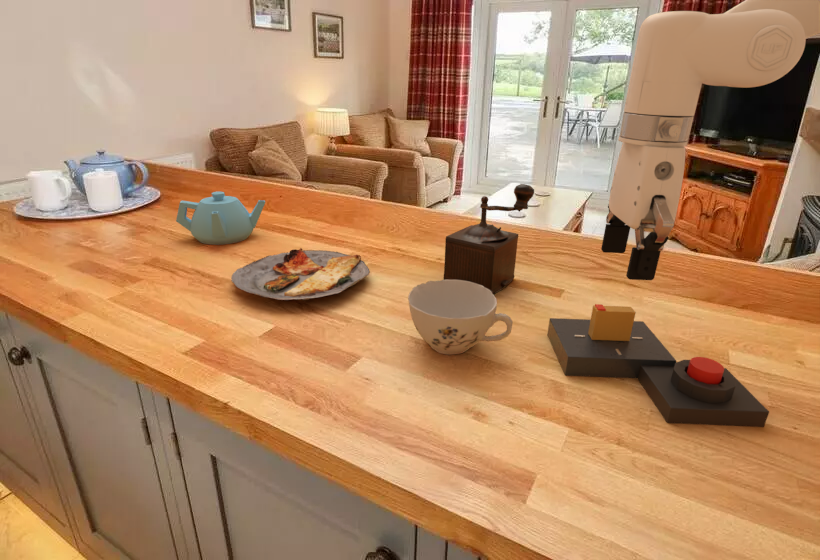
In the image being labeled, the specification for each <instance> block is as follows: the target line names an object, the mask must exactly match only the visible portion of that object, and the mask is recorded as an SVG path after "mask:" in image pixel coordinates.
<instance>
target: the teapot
mask: <svg viewBox="0 0 820 560" xmlns="http://www.w3.org/2000/svg"><path fill="white" fill-rule="evenodd" d="M265 204H266V200H264V199H263V200H262V199H258V201H257V202H256V204H255V206H254V208H253V209H252V211H251V212H249V210H248V209H247V208H246V206H245V205H244V204H243V203H242V201H240V199H239V198H238V197H236V196H231V195H226V194H225V192H224V191H213V192H211V196H208V197H204V198H202V199H200V200H199V202H196V201H188V200H180V202H179V204H178V209H177V214H176V219H175V223H177V224H179V225H180V226H181V227H183V228H185V229H186V230H187V231H189V232H190V234H191V235H192V237H193V238H195V240H197V241H198V242H199V243H202V244H204V245H211V246H212V245H213V246H221V245H231V244H237V243H240V242H243V241H245V240H247V239H248V238H249V237H250V235H251V234H252V233H253V231H254V229H255V228H256V226H257V225H258V222H259V220H260V217H261V214H262V212H263V209H264V207H265V206H266V205H265ZM188 209H191V210H194V211H193V214H192V217H191V218H189V217H188V216H187V215H188Z"/></svg>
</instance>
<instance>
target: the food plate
mask: <svg viewBox="0 0 820 560" xmlns="http://www.w3.org/2000/svg"><path fill="white" fill-rule="evenodd" d="M370 273H371V271H370V268H369V266H367V264H366V262H365V261H364V260H362V256H361V255H360V254H352V255H350V254H347V253H342V252H340V251H333V250H332V251H331V250H323V249H322V250H320V249H318V250H314V249H311V250H310V249H309V250H304V249H303V248H301V247H300V248H299V249H291V250H289V252H280V253H277V254H273V255H266V256H264V257H261V258H259V259H257V260H254V261H252V262H250V263H248V264H246V265H244V266H242V267H239V268H237V269H236V270H235V271H234V272H233V273H232V274H231V282H232V283H233V284H234V286H235V287H236V288H238V289H240V291H244V292H245V293H248V294H254V295H255V296H256V295H257V296H260V298H270V299H275V300H279V301H280V300H281V301H283V300H284V301H290V300H297V301H299V300H302V301H306V300H307V301H309V300H310V299H315V298H322V297H326V296H332V295H336V294H340V293H342V292H343V291H345V290H347V289H348V288H349V287H353V286H355V285H356V284H357V283H359V282H360V281H362V280H363V279H365V277H367V276H369V274H370Z"/></svg>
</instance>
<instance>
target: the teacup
mask: <svg viewBox="0 0 820 560" xmlns="http://www.w3.org/2000/svg"><path fill="white" fill-rule="evenodd" d="M407 298H408V299H407V300H408V306H409V312H410V316H411V320H412V323H413V326H414V327H415V329H416V331H417V332H418V334H419V335H420V337H421V338H422V339H423V340H424V341H425V343H426V344H428V345H429V346H430V348H431V349H432V350H433V351H435V352H437V353H439V354H442V355H459V354H463V353H465V352H467V351H468V350H469V349H471V348H472V347H474V346H475V345H477V344H478V343H481V342H498V341H502V340H504V339H506V338H507V337H509V335H510V334H511V333H512V330H513V320H512V318H511V316H510V315H508V314H506V313H502V312H499V313H496V312H497V309H498V308H497V307H498V298H497V297H496V296H495V294H492V292H491V291H490V290H489V289H487V288H484V286H482V285H479V284H476V283H472V282H469V281H463V280H444V279H440V280H429V281H427V282H425V283H424V282H422V283H420V284H417V285H416V286H414V287H413V288H412V290H410V292H409V294H408V297H407ZM497 322H503V323H505V325H506V330H505V331H503V332H501V333H500V334H495V335H487V333H488V331H489V329H490V328H492V327H493V326H494V325H495V324H496V323H497Z"/></svg>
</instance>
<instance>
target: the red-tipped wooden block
mask: <svg viewBox="0 0 820 560" xmlns="http://www.w3.org/2000/svg"><path fill="white" fill-rule="evenodd" d="M635 318H636V311H635V310H634V309H633V307H632V306H622V305H621V306H620V305H603V304H601V303H600V304H599V303H598V304H597V303H595V304H594V305H592V309H591V316H590V319H589V320H590V326H589V331H588V334H589V336H590V338H591V339H592V340H613V341H629V340H630V336H631V331H632V327H633V322H634V321H635Z"/></svg>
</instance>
